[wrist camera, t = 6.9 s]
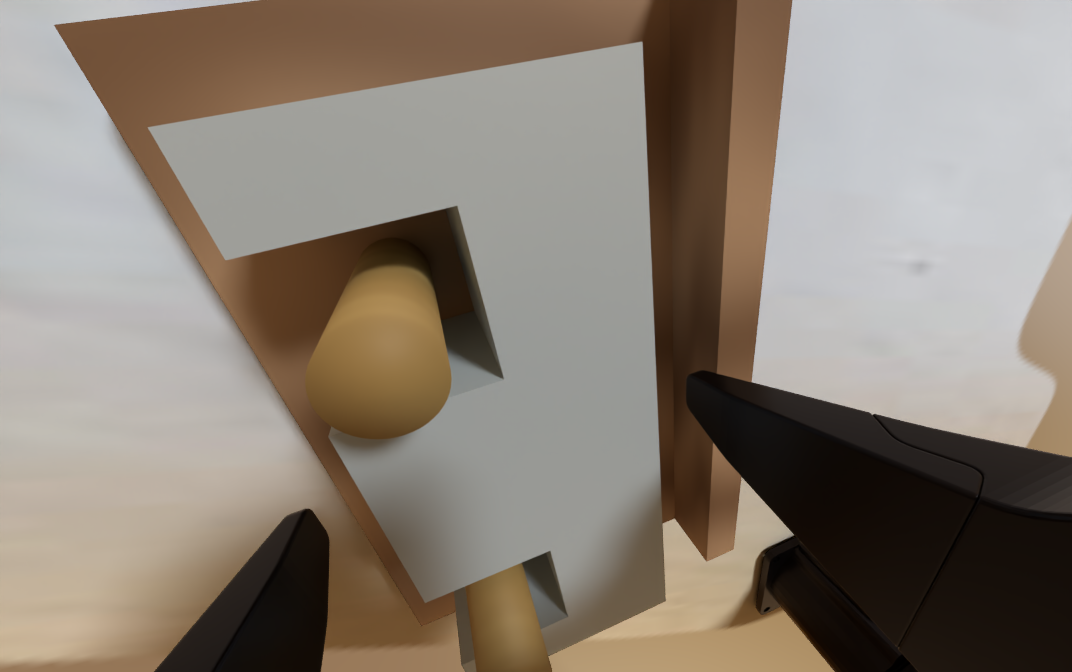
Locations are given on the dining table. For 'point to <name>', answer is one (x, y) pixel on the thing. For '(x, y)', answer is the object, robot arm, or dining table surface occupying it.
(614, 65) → the grey notched panel
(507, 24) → the board
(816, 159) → the dining table surface
